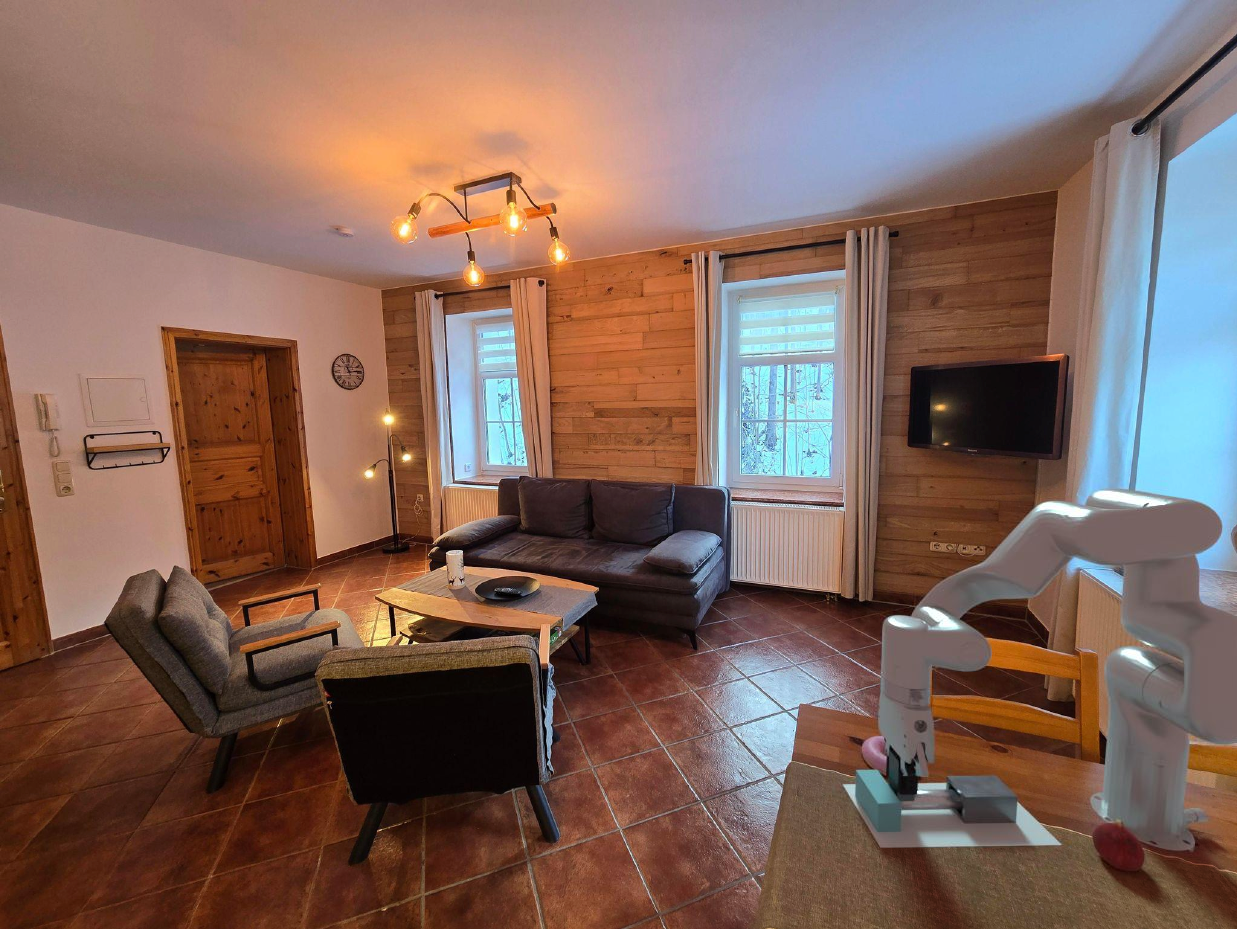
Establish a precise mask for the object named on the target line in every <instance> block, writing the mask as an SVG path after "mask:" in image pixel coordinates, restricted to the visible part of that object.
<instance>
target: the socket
mask: <svg viewBox="0 0 1237 929" xmlns="http://www.w3.org/2000/svg"><path fill="white" fill-rule="evenodd" d="M855 784H856V786H855V797H856V798H857V800H858V802H859V803H860V805H861V806H862V808H863V810H864V811H865V813H866V815H867V816H868V818H869V819H870V821H871V823H872V824H873V826H874V828H875V829H876V831H877V832H901V806H902V803H901V802H900V800H899V799H898V798H897V796H896V795H895V793H894V792H893V791H892V789H891V788H890V787H889V785H888V782H887V781H886V779H885V778H884V777H883V774H882V773H880V772H879V771H878V770H875V769H855Z"/></svg>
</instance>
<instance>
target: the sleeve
mask: <svg viewBox="0 0 1237 929" xmlns="http://www.w3.org/2000/svg"><path fill="white" fill-rule="evenodd" d="M945 783H946V789H956V790H957V791H958V792H959V794H960V795H961V796H962V797H963V809H954V810H953V811H954V812H955V813H956V814H957V815H958V817H959V818H960V819H961V820H962V821H963V823H964V824H972V823H1016V815H1017V802H1018V798H1019V797H1018V795H1017V794H1016V793H1015V792H1014V791H1013V790H1012V789H1010V787H1008V785H1006V784H1005V783H1004V782H1003V781H1002V779H1000V777H998V776H997V775H946V782H945Z"/></svg>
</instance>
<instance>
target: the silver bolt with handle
mask: <svg viewBox="0 0 1237 929" xmlns="http://www.w3.org/2000/svg"><path fill="white" fill-rule="evenodd" d="M907 764H908V763H907ZM908 766H913V762H911V764H908ZM898 771H901V757H900V756H899V755H898V754H897V752H896V751H895V750H889V777H887V779H888V782H887V784H888V785H889V787H890V788H891V789H892V791H893V792H894V793H895V795H896V796H897V798H898V799H899V800H900V802H901V803H902V806H901V810H954V809H963V797H962V796H961V795H960V794H959V792H958V791H957V790H956V789H935V790H918V793H917V794H916V795H900V794H899V792H898Z"/></svg>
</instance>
